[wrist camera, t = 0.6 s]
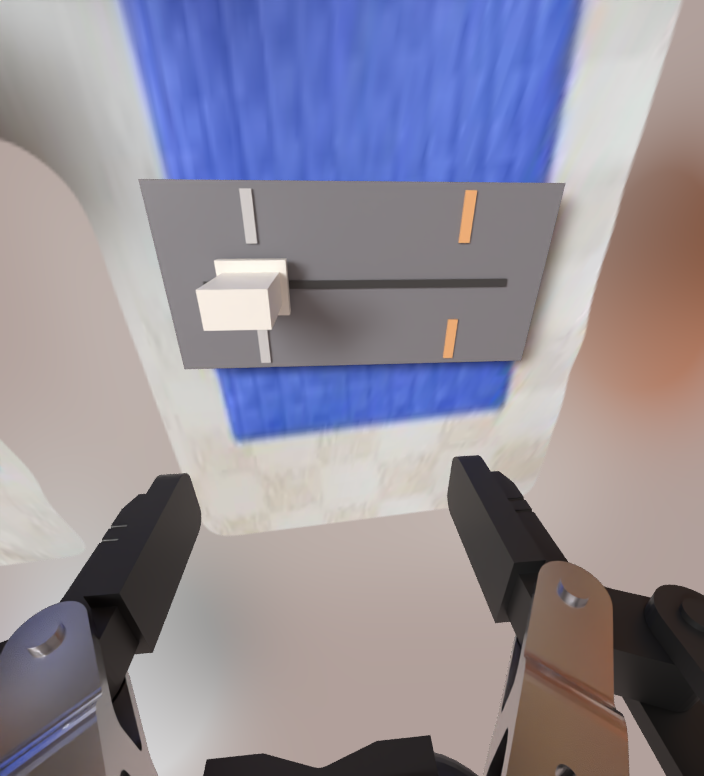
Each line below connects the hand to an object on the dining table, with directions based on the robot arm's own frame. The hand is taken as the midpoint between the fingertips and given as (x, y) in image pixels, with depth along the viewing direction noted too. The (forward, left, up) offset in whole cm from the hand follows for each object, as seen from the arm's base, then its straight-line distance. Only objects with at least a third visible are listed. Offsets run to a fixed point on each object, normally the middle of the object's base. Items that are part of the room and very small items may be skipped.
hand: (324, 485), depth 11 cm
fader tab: (-2, -5, -19) cm, 20 cm away
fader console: (-2, +3, -23) cm, 23 cm away
